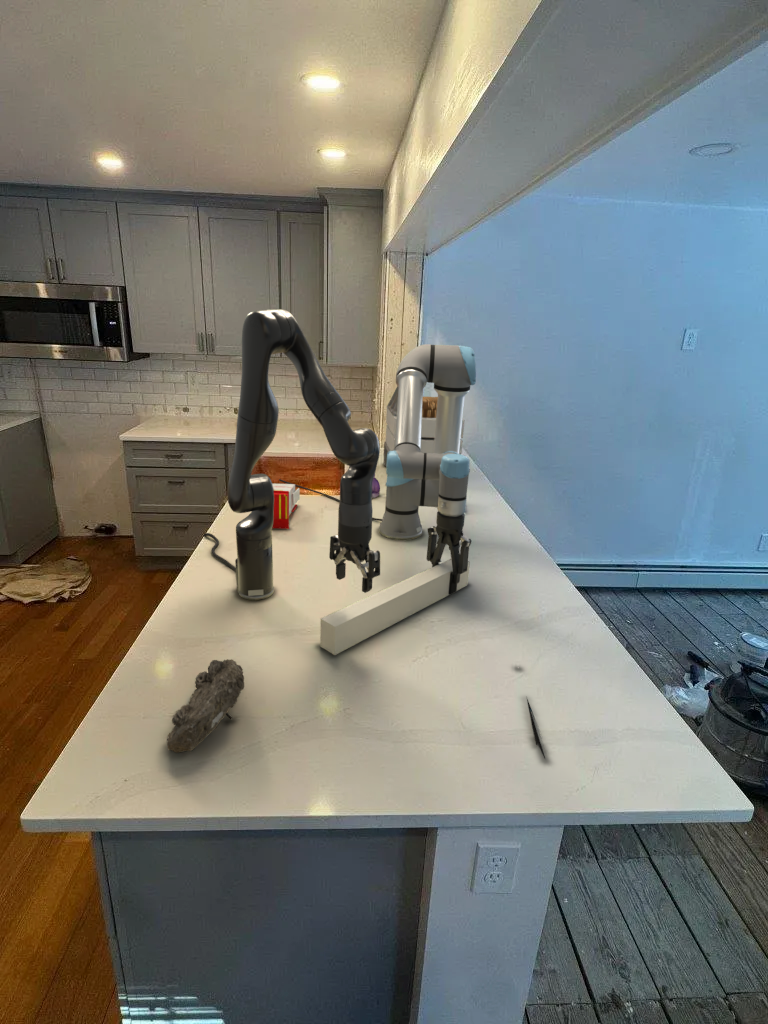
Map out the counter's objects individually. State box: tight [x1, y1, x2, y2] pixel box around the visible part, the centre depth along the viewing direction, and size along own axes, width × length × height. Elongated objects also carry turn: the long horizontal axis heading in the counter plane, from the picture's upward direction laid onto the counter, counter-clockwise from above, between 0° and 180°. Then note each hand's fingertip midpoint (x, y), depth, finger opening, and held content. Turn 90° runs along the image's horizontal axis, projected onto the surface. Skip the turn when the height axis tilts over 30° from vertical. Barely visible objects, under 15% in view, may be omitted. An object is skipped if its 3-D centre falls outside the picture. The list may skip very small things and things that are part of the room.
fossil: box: [166, 658, 245, 754], centre depth 106 cm, size 22×10×15 cm
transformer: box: [383, 385, 465, 467], centre depth 268 cm, size 34×33×41 cm
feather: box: [517, 666, 549, 759], centre depth 114 cm, size 2×28×2 cm
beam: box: [319, 558, 471, 656], centre depth 147 cm, size 52×5×8 cm, turn 137°
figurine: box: [372, 474, 381, 499], centre depth 236 cm, size 9×10×15 cm
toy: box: [272, 483, 301, 530], centre depth 210 cm, size 12×13×30 cm
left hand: (353, 584), depth 131 cm, fingers open, 8 cm apart
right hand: (444, 588), depth 161 cm, fingers closed on beam, 5 cm apart
